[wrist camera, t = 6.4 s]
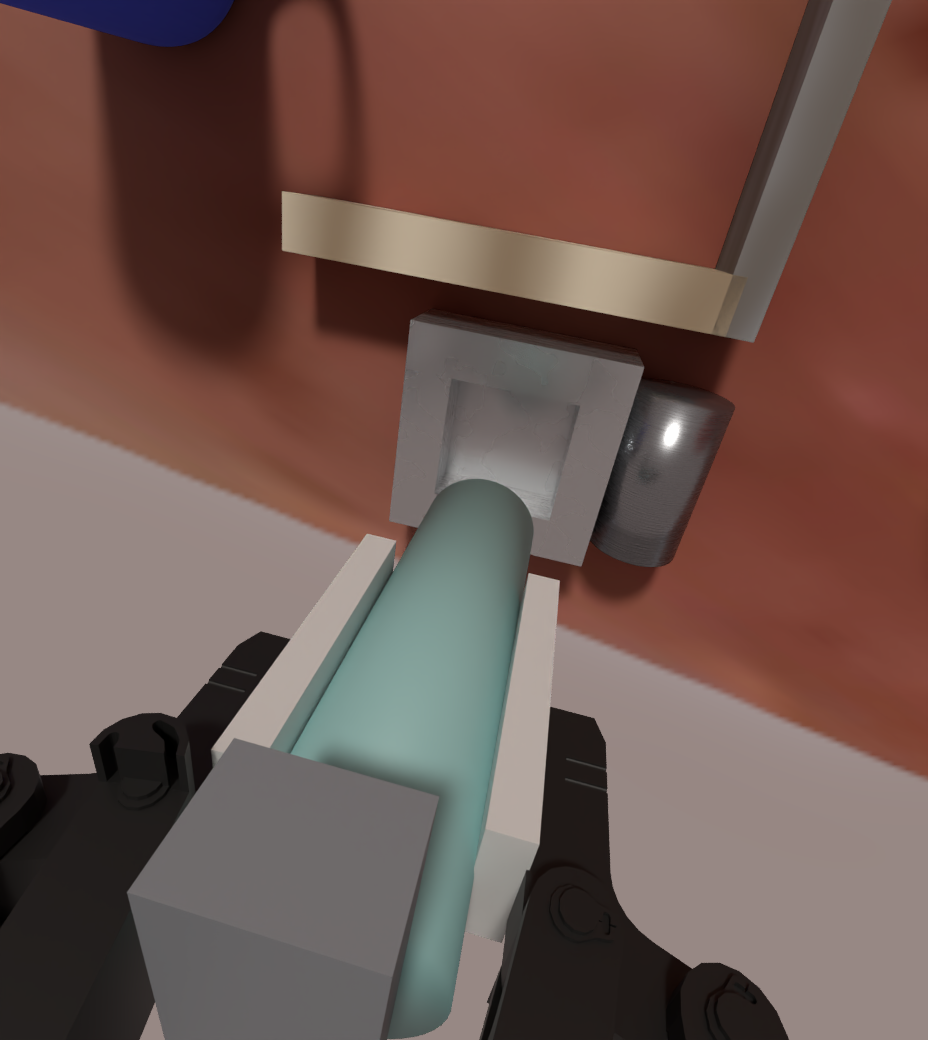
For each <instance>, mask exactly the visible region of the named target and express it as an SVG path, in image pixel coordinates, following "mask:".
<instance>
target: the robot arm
mask: <svg viewBox="0 0 928 1040" xmlns="http://www.w3.org/2000/svg"><path fill="white" fill-rule="evenodd" d="M395 548H396V541H395V540H391V539H387V538H383V537H379V536H374V535H370V534H366V536H365V537H364V539H363V540H362V541H361V543H360V544H359V546H358V547H357V548H356V550H355V551H354V552H353V554H352V555H351V557H350V558H349V560H348V561H347V562H346V564H345V565H344V566H343V568H342V569H341V570H340V572H339V573H338V575H337V576H336V577H335V579H334V580H333V582H332V583H331V584H330V586H329V587H328V588H327V590H326V591H325V593H324V594H323V595H322V597H321V598H320V600H319V601H318V602H317V604H316V605H315V607H314V608H313V609H312V611H311V612H310V613H309V615H308V616H307V618H306V619H305V620H304V622H303V623H302V625H301V626H300V627H299V629H298V630H297V631H296V633H295V634H294V635H293V637H292V638H291V639H287V638H283V637H280V636H276V635H272V634H269V633H265V632H259V633H258V634H256V635H254V636H253V637H251V638H249V639H247V640H246V641H244V642H242V643H241V644H239V645H238V646H237V647H236V648H235V650H233V652H232V653H231V654H230V655H229V656H228V658H227V659H226V660H225V661H224V663H223V664H222V667H221V668H218V670H217V671H216V672H215V673H214V674H213V676H212V677H211V678H210V679H209V682H208V684H205V685H204V686H203V687H202V689H201V690H200V691H199V692H198V693H197V695H196V696H195V697H194V698H193V699H192V701H191V702H190V703H189V704H188V705H187V707H186V708H185V709H184V710H183V711H182V712H181V714H180V715H179V716H178V717H177V718H175V717H171V716H168V715H165V714H162V713H144V714H143V713H142V714H138V715H135V716H132V717H128V718H125V719H122V720H120V721H118V722H117V723H115V724H113V725H111V726H109V727H108V728H106V729H104V730H103V731H102V732H101V733H100V734H99V735H98V736H97V737H96V738H95V739H94V740H93V741H92V742H91V743H90V748H91V752H92V756H93V760H94V764H95V768H96V771H97V773H92V774H69V775H40V774H39V771H38V768H37V765H36V764H35V763H34V762H33V761H32V760H30V759H29V758H27V757H26V756H23V755H18V754H12V753H5V754H0V1040H139V1039H140V1037H141V1035H142V1032H143V1030H144V1027H145V1025H146V1022H147V1020H148V1017H149V1015H150V1013H151V1010H152V1008H153V1005H154V1003H155V999H154V995H153V991H152V987H151V983H150V980H149V976H148V972H147V968H146V964H145V960H144V956H143V953H142V949H141V945H140V941H139V937H138V933H137V929H136V925H135V922H134V918H133V914H132V910H131V906H130V902H129V898H128V894H127V892H128V890H129V889H130V887H131V886H132V884H133V883H134V882H135V880H136V879H137V877H138V876H139V874H140V873H141V871H142V870H143V869H144V867H145V866H146V864H147V863H148V861H149V860H150V858H151V857H152V856H153V854H154V853H155V851H156V850H157V848H158V847H159V845H160V844H161V843H162V841H163V840H164V838H165V837H166V835H167V834H168V833H169V831H170V830H171V828H172V827H173V825H174V824H175V822H176V821H177V820H178V818H179V817H180V815H181V814H182V812H183V811H184V809H185V808H186V807H187V805H188V804H189V802H190V801H191V799H192V798H193V796H194V795H195V794H196V792H197V791H198V789H199V788H200V786H201V785H202V783H203V782H204V781H205V779H206V778H207V776H208V775H209V773H210V772H211V771H212V769H213V768H214V766H215V765H216V763H217V762H218V760H219V759H220V758H221V756H222V755H223V753H224V752H225V750H226V749H227V747H228V746H229V745H230V743H231V742H232V740H233V739H234V738H236V739H240V740H243V741H247V742H250V743H254V744H257V745H261V746H264V747H268V748H271V749H275V750H278V751H282V752H285V753H289V754H290V753H291V751H292V750H293V748H294V746H295V744H296V743H297V741H298V739H299V737H300V736H301V734H302V732H303V730H304V728H305V727H306V725H307V723H308V721H309V720H310V718H311V716H312V714H313V713H314V711H315V709H316V707H317V705H318V704H319V702H320V700H321V698H322V697H323V695H324V693H325V691H326V690H327V688H328V686H329V684H330V683H331V681H332V679H333V677H334V675H335V674H336V672H337V670H338V668H339V667H340V665H341V663H342V661H343V660H344V658H345V656H346V654H347V652H348V651H349V649H350V647H351V645H352V644H353V642H354V640H355V638H356V637H357V635H358V633H359V631H360V629H361V628H362V626H363V624H364V622H365V621H366V619H367V617H368V615H369V614H370V612H371V610H372V608H373V606H374V605H375V603H376V601H377V599H378V598H379V596H380V594H381V592H382V591H383V589H384V587H385V585H386V584H387V582H388V580H389V578H390V576H391V575H392V573H393V565H394V557H395ZM559 584H560V581H559V580H555V579H551V578H547V577H543V576H539V575H535V574H531V573H529V574H528V578H527V582H526V586H525V589H524V593H523V597H522V601H521V605H520V610H519V616H518V621H517V627H516V633H515V638H514V644H513V650H512V655H511V661H510V667H509V672H508V678H507V684H506V689H505V695H504V701H503V706H502V712H501V717H500V723H499V729H498V734H497V740H496V746H495V751H494V757H493V763H492V768H491V774H490V780H489V785H488V791H487V797H486V802H485V808H484V814H483V819H482V825H481V830H480V836H479V842H478V847H477V853H476V859H475V864H474V881H473V886H472V892H471V898H470V904H469V909H468V915H467V921H466V927H465V932H468V933H471V934H474V935H478V936H481V937H484V938H487V939H491V940H494V941H497V942H502V940H503V938H504V935H505V944H504V952H503V961H502V966H501V968H500V971H499V973H498V976H497V979H496V981H495V983H494V986H493V988H492V991H491V993H490V996H489V998H488V1001H487V1003H489V1007H488V1011H487V1014H486V1018H485V1021H484V1025H483V1028H482V1032H481V1036H480V1039H479V1040H789V1039H788V1036H787V1034H786V1032H785V1029H784V1027H783V1025H782V1023H781V1020H780V1018H779V1016H778V1013H777V1011H776V1010H775V1009H774V1007H773V1006H772V1004H771V1003H770V1002H769V1000H768V999H767V998H766V996H765V995H764V994H763V992H762V991H761V990H760V988H758V987H757V986H756V985H755V984H754V983H753V982H751V981H750V980H749V979H748V978H747V977H745V976H744V975H743V974H742V973H741V972H739V971H737V970H735V969H732V968H730V967H728V966H725V965H723V964H721V963H701V964H699V965H698V966H697V967H695V968H693V969H692V968H690V967H689V966H687V965H686V964H684V963H683V962H681V961H680V960H678V959H677V958H675V957H674V956H673V955H671V954H670V953H668V952H667V951H665V950H664V949H662V948H661V947H659V946H658V945H656V944H655V943H653V942H652V941H651V940H649V939H648V938H647V937H646V936H645V935H644V934H642V933H641V932H640V931H639V930H638V929H637V928H636V927H635V926H634V924H633V923H632V922H631V921H630V920H629V919H628V917H627V916H626V914H625V913H624V911H623V909H622V907H621V906H620V904H619V902H618V900H617V897H616V895H615V892H614V889H613V887H612V880H611V874H610V850H609V822H608V794H607V793H606V792H607V773H606V742H605V740H604V738H603V736H602V734H601V732H600V730H599V727H598V725H597V723H596V721H595V719H594V718H591V717H587V716H583V715H580V714H576V713H572V712H568V711H564V710H561V709H557V708H553V707H550V701H551V687H552V675H553V661H554V649H555V635H556V623H557V610H558V597H559ZM505 933H506V934H505Z"/></svg>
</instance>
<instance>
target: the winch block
mask: <svg viewBox="0 0 928 1040" xmlns="http://www.w3.org/2000/svg"><path fill="white" fill-rule="evenodd" d="M643 370H644V365H643V363H642V361H641V358H640V356H639V354H638V351H637V349H632V348H627V347H622V346H617V345H612V344H607V343H602V342H597V341H592V340H587V339H582V338H577V337H572V336H567V335H562V334H557V333H552V332H547V331H542V330H537V329H532V328H527V327H522V326H517V325H512V324H507V323H502V322H497V321H492V320H487V319H482V318H478V317H473V316H468V315H463V314H458V313H453V312H448V311H443V310H438V309H433V308H432V309H430V310H428V311H426V312H424V313H423V314H421V315H419V316H417V317H415V318H413V319H411V320H410V330H409V339H408V349H407V358H406V367H405V377H404V386H403V396H402V405H401V415H400V424H399V433H398V443H397V452H396V462H395V471H394V481H393V490H392V499H391V509H390V518H389V521H391V522H396V523H400V524H404V525H408V526H412V527H417V528H418V527H419V525H420V523H421V522H422V520H423V518H424V516H425V515H426V513H427V511H428V509H429V508H430V506H431V504H432V502H433V500H434V499H435V498H436V496H437V495H438V494H439V493H440V492H441V491H442V490H443V489H445V488H446V487H448V486H449V485H451V484H453V483H456V482H459V481H462V480H467V479H484V480H490V481H493V482H497V483H499V484H501V485H503V486H505V487H507V488H509V489H510V490H512V491H513V492H514V493H515V494H517V495H518V496H519V497H520V498H521V500H522V501H523V502H524V503H525V505H526V506H527V508H528V510H529V512H530V514H531V517H532V521H533V527H534V535H533V541H532V547H531V552H530V555H534V556H539V557H543V558H547V559H551V560H555V561H560V562H564V563H568V564H572V565H576V566H582V563H583V560H584V557H585V553H586V550H587V547H588V544H589V541H591V542H592V543H593V544H594V545H595V546H596V547H597V548H598V549H600V550H601V551H602V552H604V553H606V554H607V555H609V556H611V557H613V558H615V559H618V560H620V561H623V562H626V563H629V564H633V565H637V566H644V567H659V566H664V565H666V564H669V563H670V562H671V561H672V560H673V558H674V556H675V553H676V551H677V548H678V546H679V544H680V541H681V539H682V536H683V534H684V531H685V529H686V527H687V524H688V522H689V519H690V517H691V514H692V512H693V510H694V507H695V505H696V502H697V500H698V497H699V495H700V492H701V490H702V488H703V485H704V483H705V480H706V478H707V475H708V473H709V471H710V468H711V466H712V463H713V461H714V458H715V456H716V454H717V451H718V449H719V446H720V444H721V441H722V439H723V437H724V434H725V432H726V429H727V427H728V424H729V422H730V420H731V417H732V415H733V412H734V410H735V406H734V404H733V403H732V402H730V401H729V400H727V399H725V398H723V397H721V396H719V395H717V394H715V393H712V392H709V391H707V390H704V389H701V388H697V387H694V386H690V385H686V384H682V383H678V382H673V381H667V380H660V379H641V376H642V373H643Z"/></svg>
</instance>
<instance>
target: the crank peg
mask: <svg viewBox="0 0 928 1040" xmlns="http://www.w3.org/2000/svg"><path fill="white" fill-rule="evenodd" d="M533 535H534V527H533V521H532V517H531V514H530V512H529V510H528V508H527V506H526V505H525V503H524V502H523V501H522V500H521V498H520V497H519V496H518V495H517V494H515V493H514V492H513V491H512V490H510V489H509V488H507V487H505V486H503V485H501V484H499V483H497V482H493V481H490V480H484V479H467V480H462V481H459V482H456V483H453V484H451V485H449V486H448V487H446V488H445V489H443V490H442V491H441V492H440V493H439V494H438V495H437V496H436V498H435V499H434V500H433V502H432V504H431V506H430V508H429V509H428V511H427V513H426V515H425V516H424V518H423V520H422V522H421V523H420V525H419V527H418V529H417V530H416V532H415V534H414V536H413V538H412V539H411V541H410V543H409V545H408V546H407V548H406V550H405V552H404V553H403V555H402V557H401V559H400V561H399V562H398V564H397V566H396V568H395V570H394V571H393V573H392V575H391V576H390V578H389V580H388V582H387V584H386V585H385V587H384V589H383V591H382V592H381V594H380V596H379V598H378V599H377V601H376V603H375V605H374V606H373V608H372V610H371V612H370V614H369V615H368V617H367V619H366V621H365V622H364V624H363V626H362V628H361V629H360V631H359V633H358V635H357V637H356V638H355V640H354V642H353V644H352V645H351V647H350V649H349V651H348V652H347V654H346V656H345V658H344V660H343V661H342V663H341V665H340V667H339V668H338V670H337V672H336V674H335V675H334V677H333V679H332V681H331V683H330V684H329V686H328V688H327V690H326V691H325V693H324V695H323V697H322V698H321V700H320V702H319V704H318V705H317V707H316V709H315V711H314V713H313V714H312V716H311V718H310V720H309V721H308V723H307V725H306V727H305V728H304V730H303V732H302V734H301V736H300V737H299V739H298V741H297V743H296V744H295V746H294V748H293V750H292V751H291V753H290V754H289V753H285V752H282V751H278V750H275V749H271V748H268V747H264V746H261V745H257V744H254V743H250V742H247V741H243V740H240V739H236V738H234V739H233V740H232V742H231V743H230V745H229V746H228V747H227V749H226V750H225V752H224V753H223V755H222V756H221V758H220V759H219V760H218V762H217V763H216V765H215V766H214V768H213V769H212V771H211V772H210V773H209V775H208V776H207V778H206V779H205V781H204V782H203V783H202V785H201V786H200V788H199V789H198V791H197V792H196V794H195V795H194V796H193V798H192V799H191V801H190V802H189V804H188V805H187V807H186V808H185V809H184V811H183V812H182V814H181V815H180V817H179V818H178V820H177V821H176V822H175V824H174V825H173V827H172V828H171V830H170V831H169V833H168V834H167V835H166V837H165V838H164V840H163V841H162V843H161V844H160V845H159V847H158V848H157V850H156V851H155V853H154V854H153V856H152V857H151V858H150V860H149V861H148V863H147V864H146V866H145V867H144V869H143V870H142V871H141V873H140V874H139V876H138V877H137V879H136V880H135V882H134V883H133V884H132V886H131V887H130V889H129V890H128V892H127V894H128V898H129V902H130V906H131V910H132V914H133V918H134V922H135V925H136V929H137V933H138V937H139V941H140V945H141V949H142V953H143V956H144V960H145V964H146V968H147V972H148V976H149V980H150V983H151V987H152V991H153V995H154V999H155V1003H156V1007H157V1010H158V1014H159V1018H160V1022H161V1026H162V1030H163V1034H164V1037H165V1040H387V1039H402V1038H409V1037H415V1036H419V1035H423V1034H426V1033H428V1032H430V1031H433V1030H435V1029H436V1028H438V1027H439V1026H441V1025H442V1024H443V1022H445V1021H446V1019H447V1018H448V1016H449V1014H450V1012H451V1007H452V1001H453V995H454V990H455V984H456V978H457V973H458V967H459V961H460V955H461V949H462V943H463V938H464V932H465V927H466V921H467V915H468V909H469V904H470V898H471V892H472V886H473V881H474V864H475V859H476V853H477V847H478V842H479V836H480V830H481V825H482V819H483V814H484V808H485V802H486V797H487V791H488V785H489V780H490V774H491V768H492V763H493V757H494V751H495V746H496V740H497V734H498V729H499V723H500V717H501V712H502V706H503V701H504V695H505V689H506V684H507V678H508V672H509V667H510V661H511V655H512V650H513V644H514V638H515V633H516V627H517V621H518V616H519V610H520V605H521V601H522V597H523V593H524V587H525V581H526V575H527V570H528V564H529V558H530V552H531V547H532V541H533Z"/></svg>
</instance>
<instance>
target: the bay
mask: <svg viewBox="0 0 928 1040" xmlns="http://www.w3.org/2000/svg"><path fill="white" fill-rule="evenodd" d="M891 1H892V0H809V2H808V4H807V7H806V10H805V13H804V16H803V19H802V22H801V25H800V27H799V30H798V33H797V36H796V39H795V42H794V45H793V48H792V50H791V53H790V56H789V59H788V62H787V65H786V68H785V70H784V73H783V76H782V79H781V82H780V85H779V88H778V91H777V93H776V96H775V99H774V102H773V105H772V108H771V111H770V113H769V116H768V119H767V122H766V125H765V128H764V131H763V134H762V136H761V139H760V142H759V145H758V148H757V151H756V154H755V157H754V159H753V162H752V165H751V168H750V171H749V174H748V177H747V179H746V182H745V185H744V188H743V191H742V194H741V197H740V200H739V202H738V205H737V208H736V211H735V214H734V217H733V220H732V222H731V225H730V228H729V231H728V234H727V237H726V240H725V243H724V245H723V248H722V251H721V254H720V257H719V260H718V263H717V266H716V268H715V269H712V268H706V267H701V266H695V265H690V264H684V263H679V262H674V261H668V260H663V259H657V258H652V257H647V256H641V255H636V254H630V253H625V252H620V251H614V250H609V249H603V248H598V247H592V246H587V245H582V244H576V243H571V242H565V241H560V240H555V239H549V238H544V237H538V236H533V235H528V234H522V233H517V232H511V231H506V230H500V229H495V228H490V227H484V226H479V225H473V224H468V223H463V222H457V221H452V220H446V219H441V218H436V217H430V216H425V215H419V214H414V213H408V212H403V211H398V210H392V209H387V208H381V207H376V206H371V205H365V204H360V203H354V202H349V201H344V200H338V199H333V198H327V197H322V196H316V195H309V194H300V193H292V192H284V191H282V250H283V251H288V252H293V253H298V254H303V255H308V256H313V257H319V258H324V259H329V260H334V261H339V262H344V263H349V264H354V265H360V266H365V267H370V268H375V269H380V270H385V271H390V272H395V273H400V274H406V275H411V276H416V277H421V278H426V279H431V280H436V281H441V282H447V283H452V284H457V285H462V286H467V287H472V288H477V289H482V290H487V291H493V292H498V293H503V294H508V295H513V296H518V297H523V298H528V299H534V300H539V301H544V302H549V303H554V304H559V305H564V306H569V307H574V308H580V309H585V310H590V311H595V312H600V313H605V314H610V315H615V316H621V317H626V318H631V319H636V320H641V321H646V322H651V323H656V324H662V325H667V326H672V327H677V328H682V329H687V330H692V331H697V332H702V333H708V334H713V335H718V336H723V337H728V338H733V339H738V340H743V341H749V342H754V340H755V338H756V335H757V333H758V330H759V328H760V326H761V323H762V321H763V318H764V316H765V313H766V311H767V308H768V306H769V303H770V301H771V298H772V296H773V293H774V291H775V288H776V286H777V283H778V281H779V278H780V276H781V274H782V271H783V269H784V266H785V264H786V261H787V259H788V256H789V254H790V251H791V249H792V246H793V244H794V241H795V239H796V236H797V234H798V231H799V229H800V226H801V224H802V222H803V219H804V217H805V214H806V212H807V209H808V207H809V204H810V202H811V199H812V197H813V194H814V192H815V189H816V187H817V184H818V182H819V179H820V177H821V174H822V172H823V169H824V167H825V165H826V162H827V160H828V157H829V155H830V152H831V150H832V147H833V145H834V142H835V140H836V137H837V135H838V132H839V130H840V127H841V125H842V122H843V120H844V117H845V115H846V113H847V110H848V108H849V105H850V103H851V100H852V98H853V95H854V93H855V90H856V88H857V85H858V83H859V80H860V78H861V75H862V73H863V70H864V68H865V65H866V63H867V60H868V58H869V56H870V53H871V51H872V48H873V46H874V43H875V41H876V38H877V36H878V33H879V31H880V28H881V26H882V23H883V21H884V18H885V16H886V13H887V11H888V8H889V6H890V4H891Z"/></svg>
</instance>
